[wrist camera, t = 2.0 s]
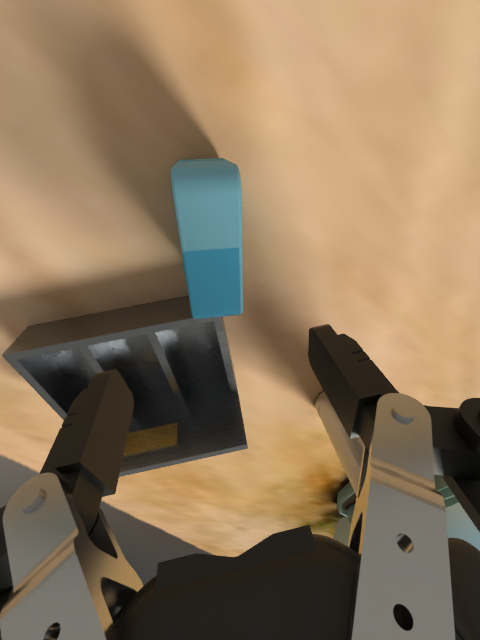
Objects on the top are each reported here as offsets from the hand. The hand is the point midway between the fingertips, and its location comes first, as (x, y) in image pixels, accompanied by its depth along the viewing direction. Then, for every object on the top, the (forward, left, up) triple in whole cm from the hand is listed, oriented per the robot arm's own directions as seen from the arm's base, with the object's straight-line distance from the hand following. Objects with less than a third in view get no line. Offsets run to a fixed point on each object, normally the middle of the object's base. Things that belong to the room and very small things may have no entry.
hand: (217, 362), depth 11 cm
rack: (+12, +17, -22) cm, 31 cm away
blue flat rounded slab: (-1, 0, -23) cm, 23 cm away
